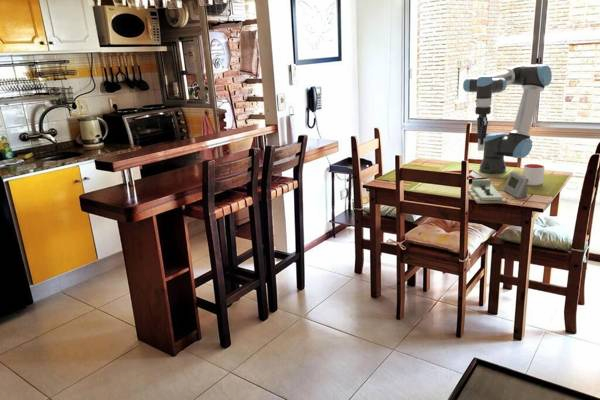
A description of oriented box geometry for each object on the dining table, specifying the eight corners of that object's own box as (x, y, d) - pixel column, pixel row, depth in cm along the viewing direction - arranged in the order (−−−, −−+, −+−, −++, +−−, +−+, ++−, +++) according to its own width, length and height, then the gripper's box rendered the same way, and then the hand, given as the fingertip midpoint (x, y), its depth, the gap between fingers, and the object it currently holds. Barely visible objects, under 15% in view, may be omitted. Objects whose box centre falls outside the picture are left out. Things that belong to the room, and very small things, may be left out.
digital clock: (502, 190, 244) (504, 170, 241) (520, 189, 242) (522, 170, 239) (510, 199, 229) (512, 179, 225) (529, 199, 227) (531, 178, 224)
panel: (470, 187, 246) (471, 179, 244) (490, 187, 244) (490, 179, 243) (481, 200, 225) (482, 191, 224) (502, 199, 224) (503, 191, 222)
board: (464, 186, 253) (464, 179, 251) (490, 186, 251) (491, 179, 250) (477, 203, 225) (477, 195, 224) (506, 203, 223) (507, 194, 222)
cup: (544, 186, 245) (546, 168, 242) (524, 186, 247) (526, 168, 244) (539, 181, 255) (541, 163, 252) (520, 181, 257) (521, 164, 254)
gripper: (472, 105, 245) (470, 148, 253) (478, 108, 233) (476, 153, 241) (487, 104, 244) (484, 147, 252) (494, 107, 232) (491, 152, 240)
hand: (480, 150), depth 246 cm, fingers closed
